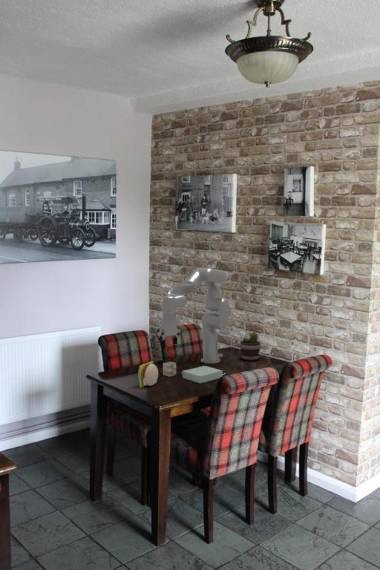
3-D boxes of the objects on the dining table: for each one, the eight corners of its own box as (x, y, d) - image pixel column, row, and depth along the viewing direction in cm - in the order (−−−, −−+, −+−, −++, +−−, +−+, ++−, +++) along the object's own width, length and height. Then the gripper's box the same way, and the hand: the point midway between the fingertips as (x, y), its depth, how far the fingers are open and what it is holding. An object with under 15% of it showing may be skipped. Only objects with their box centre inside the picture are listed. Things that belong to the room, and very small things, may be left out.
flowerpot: (234, 358, 373) (234, 328, 371) (252, 355, 382) (252, 326, 379) (248, 363, 361) (248, 332, 359) (266, 359, 369) (266, 330, 367)
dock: (204, 372, 340) (204, 365, 340) (222, 377, 329) (222, 370, 329) (182, 377, 328) (182, 371, 328) (200, 383, 317) (200, 376, 317)
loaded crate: (170, 373, 339) (170, 361, 338) (176, 374, 335) (176, 363, 334) (163, 374, 335) (163, 363, 334) (169, 376, 331) (169, 365, 330)
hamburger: (148, 388, 307) (148, 367, 306) (136, 386, 311) (136, 365, 310) (161, 383, 317) (160, 362, 316) (148, 381, 322) (148, 360, 320)
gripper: (175, 314, 340) (175, 342, 341) (153, 317, 328) (153, 346, 330) (184, 316, 334) (184, 344, 336) (161, 319, 322) (161, 348, 324)
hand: (169, 345), depth 333 cm, fingers open, 9 cm apart
